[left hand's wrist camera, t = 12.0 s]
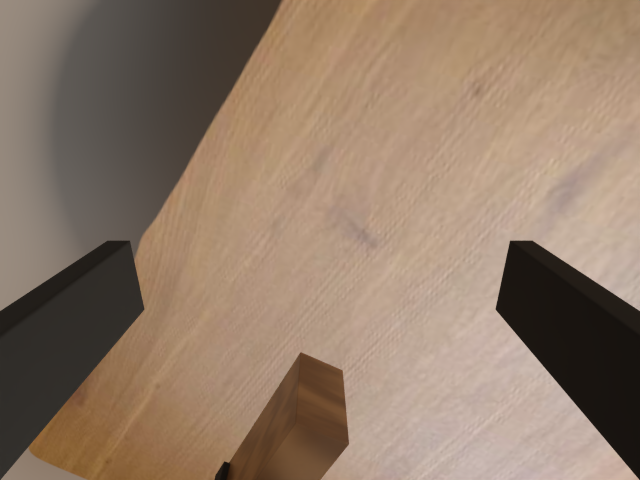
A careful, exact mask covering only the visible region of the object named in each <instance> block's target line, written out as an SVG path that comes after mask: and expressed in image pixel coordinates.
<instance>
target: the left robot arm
mask: <svg viewBox="0 0 640 480" xmlns="http://www.w3.org/2000/svg"><path fill="white" fill-rule="evenodd" d="M143 310H144V305H143V301H142V296H141V291H140V286H139V282H138V277H137V272H136V268H135V263H134V258H133V253H132V249H131V244H130V241H107V242H105V243H103V244H102V245H100V246H99V247H97V248H96V249H94V250H93V251H91V252H90V253H88V254H87V255H85V256H84V257H82V258H81V259H79V260H78V261H76V262H75V263H73V264H71V265H70V266H68V267H67V268H65V269H64V270H62V271H61V272H59V273H58V274H56V275H55V276H53V277H52V278H50V279H49V280H47V281H46V282H44V283H42V284H41V285H40V286H38V287H36V288H35V289H33V290H32V291H30V292H29V293H27V294H26V295H24V296H23V297H21V298H20V299H18V300H17V301H15V302H14V303H12V304H11V305H9V306H7V307H6V308H4V309H3V310H1V311H0V480H1V478H2V477H3V476H4V475H5V474H6V473H7V471H8V470H9V469H10V468H11V467H12V465H13V464H14V463H15V462H16V461H17V460H18V458H19V457H20V456H21V455H22V454H23V452H24V451H25V450H26V449H27V448H28V447H29V445H30V444H31V443H32V442H33V441H34V439H35V438H36V437H37V436H38V435H39V433H40V432H41V431H42V430H43V429H44V428H45V426H46V425H47V424H48V423H49V422H50V420H51V419H52V418H53V417H54V416H55V415H56V413H57V412H58V411H59V410H60V409H61V407H62V406H63V405H64V404H65V403H66V402H67V400H68V399H69V398H70V397H71V396H72V394H73V393H74V392H75V391H76V390H77V389H78V387H79V386H80V385H81V384H82V383H83V381H84V380H85V379H86V378H87V377H88V376H89V374H90V373H91V372H92V371H93V370H94V368H95V367H96V366H97V365H98V364H99V362H100V361H101V360H102V359H103V358H104V357H105V355H106V354H107V353H108V352H109V351H110V349H111V348H112V347H113V346H114V345H115V344H116V342H117V341H118V340H119V339H120V338H121V336H122V335H123V334H124V333H125V332H126V331H127V329H128V328H129V327H130V326H131V325H132V323H133V322H134V321H135V320H136V319H137V318H138V316H139V315H140V314H141V313H142V312H143ZM496 310H497V312H498V313H499V314H500V315H501V316H502V318H503V319H504V320H505V321H506V322H507V323H508V325H509V326H510V327H511V328H512V329H513V331H514V332H515V333H516V334H517V335H518V336H519V338H520V339H521V340H522V341H523V342H524V344H525V345H526V346H527V347H528V348H529V349H530V351H531V352H532V353H533V354H534V355H535V357H536V358H537V359H538V360H539V361H540V362H541V364H542V365H543V366H544V367H545V368H546V370H547V371H548V372H549V373H550V374H551V376H552V377H553V378H554V379H555V380H556V381H557V383H558V384H559V385H560V386H561V387H562V389H563V390H564V391H565V392H566V393H567V394H568V396H569V397H570V398H571V399H572V400H573V402H574V403H575V404H576V405H577V406H578V407H579V409H580V410H581V411H582V412H583V413H584V415H585V416H586V417H587V418H588V419H589V420H590V422H591V423H592V424H593V425H594V426H595V428H596V429H597V430H598V431H599V432H600V433H601V435H602V436H603V437H604V438H605V439H606V441H607V442H608V443H609V444H610V445H611V447H612V448H613V449H614V450H615V451H616V452H617V454H618V455H619V456H620V457H621V458H622V460H623V461H624V462H625V463H626V464H627V465H628V467H629V468H630V469H631V470H632V471H633V473H634V474H635V475H636V476H637V477H638V478H639V480H640V311H639V310H637V309H636V308H634V307H633V306H631V305H630V304H628V303H627V302H625V301H623V300H622V299H620V298H619V297H617V296H616V295H614V294H613V293H611V292H610V291H608V290H607V289H605V288H604V287H602V286H601V285H599V284H598V283H596V282H594V281H593V280H591V279H590V278H588V277H587V276H585V275H584V274H582V273H581V272H579V271H578V270H576V269H575V268H573V267H572V266H570V265H569V264H567V263H565V262H564V261H562V260H561V259H559V258H558V257H556V256H555V255H553V254H552V253H550V252H549V251H547V250H546V249H544V248H543V247H541V246H540V245H538V244H537V243H535V242H533V241H510V244H509V249H508V253H507V258H506V263H505V268H504V272H503V277H502V282H501V286H500V291H499V296H498V301H497V305H496Z"/></svg>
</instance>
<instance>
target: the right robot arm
mask: <svg viewBox="0 0 640 480" xmlns="http://www.w3.org/2000/svg"><path fill="white" fill-rule="evenodd" d="M229 467H230V463H227V462H225V461H224V463H223V465H222V466H221V468H220V469H219V471H218V472H217V474H216V476H215V480H226V479H227V475H228V471H229Z"/></svg>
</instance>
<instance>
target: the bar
mask: <svg viewBox="0 0 640 480" xmlns="http://www.w3.org/2000/svg"><path fill="white" fill-rule="evenodd" d="M348 445H349V439H348V427H347V416H346V404H345V392H344V381H343V371H342V370H340V369H338V368H336V367H333V366H331V365H329V364H326V363H324V362H322V361H320V360H317V359H315V358H313V357H310V356H308V355H306V354H303V353H300V354H299V356H298V357H297V359H296V360H295V362H294V363H293V365H292V367H291V368H290V370H289V371H288V373H287V374H286V376H285V377H284V379H283V380H282V382H281V384H280V385H279V387H278V388H277V390H276V391H275V393H274V394H273V396H272V397H271V399H270V401H269V402H268V404H267V405H266V407H265V408H264V410H263V411H262V413H261V414H260V416H259V418H258V419H257V421H256V422H255V424H254V425H253V427H252V428H251V430H250V431H249V433H248V435H247V436H246V438H245V439H244V441H243V442H242V444H241V445H240V447H239V448H238V450H237V452H236V453H235V455H234V456H233V458H232V459H231V461H230V462H229V463H230V467H229V471H228V475H227V479H226V480H320V479H321V478H322V477H323V476H324V474H325V473H326V472H327V471H328V469H329V468H330V467H331V466H332V465H333V463H334V462H335V461H336V460H337V458H338V457H339V456H340V455H341V453H342V452H343V451H344V450H345V448H346V447H347V446H348Z"/></svg>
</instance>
